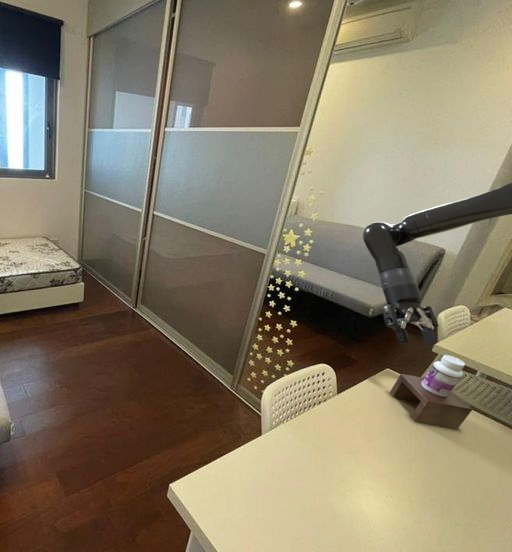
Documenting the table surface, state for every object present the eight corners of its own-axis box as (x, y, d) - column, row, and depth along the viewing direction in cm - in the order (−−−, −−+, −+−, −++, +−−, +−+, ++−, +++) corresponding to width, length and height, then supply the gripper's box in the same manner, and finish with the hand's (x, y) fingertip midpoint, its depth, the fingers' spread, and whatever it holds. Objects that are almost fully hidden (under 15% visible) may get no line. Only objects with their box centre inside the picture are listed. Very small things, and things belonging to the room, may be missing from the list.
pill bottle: (421, 379, 85) (440, 350, 81) (447, 391, 82) (468, 361, 78) (419, 388, 82) (439, 358, 78) (447, 401, 78) (469, 370, 75)
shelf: (427, 400, 89) (440, 380, 86) (457, 429, 80) (473, 409, 77) (388, 393, 90) (400, 373, 87) (414, 421, 81) (428, 401, 78)
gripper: (391, 281, 87) (411, 341, 81) (434, 283, 89) (456, 342, 83) (366, 289, 94) (382, 345, 88) (406, 291, 96) (425, 346, 90)
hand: (418, 343), depth 86 cm, fingers open, 8 cm apart
